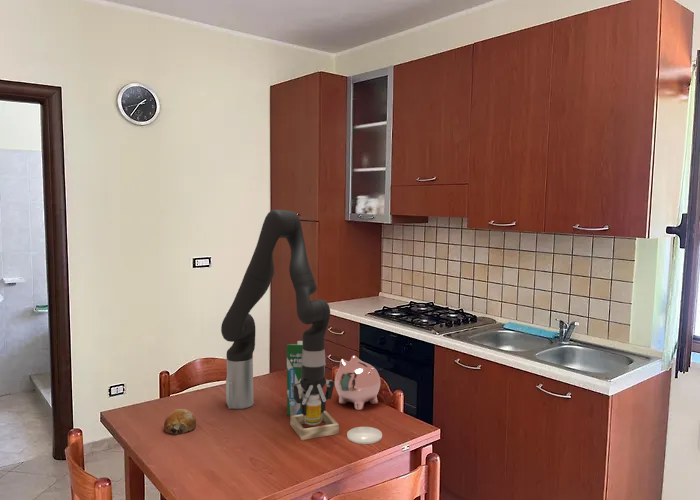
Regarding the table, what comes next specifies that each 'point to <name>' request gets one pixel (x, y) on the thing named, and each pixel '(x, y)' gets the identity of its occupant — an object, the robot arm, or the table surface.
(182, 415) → the bread roll
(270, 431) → the table surface
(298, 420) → the frame
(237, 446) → the table surface
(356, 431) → the coaster
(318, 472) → the table surface
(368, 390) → the piggy bank
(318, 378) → the robot arm
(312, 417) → the supplement bottle
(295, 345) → the milk carton
